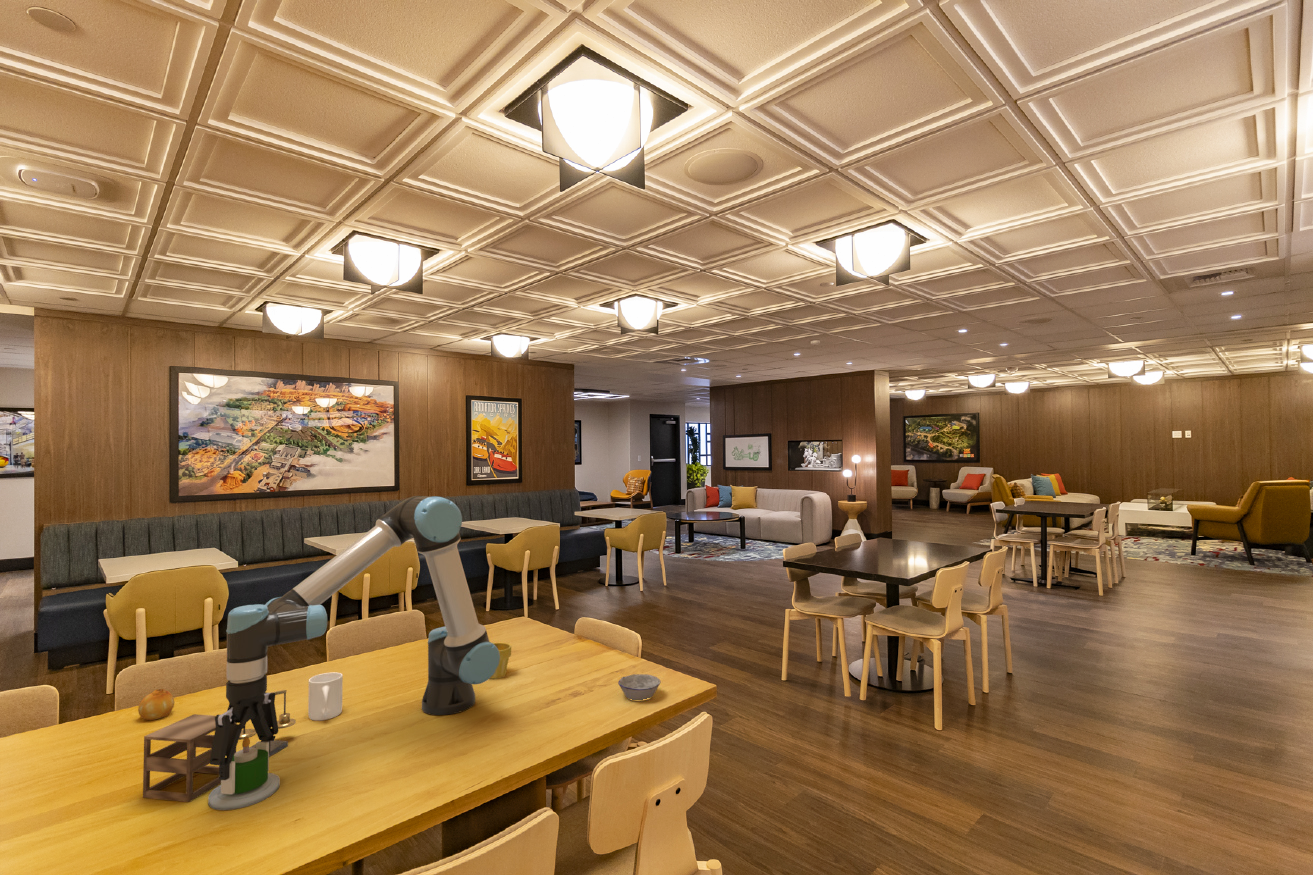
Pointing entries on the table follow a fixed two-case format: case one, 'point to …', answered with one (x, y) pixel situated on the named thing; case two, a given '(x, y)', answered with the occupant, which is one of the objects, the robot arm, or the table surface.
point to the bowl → (639, 686)
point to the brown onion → (156, 705)
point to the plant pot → (502, 659)
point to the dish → (243, 795)
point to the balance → (282, 723)
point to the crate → (186, 738)
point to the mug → (325, 696)
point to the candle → (250, 767)
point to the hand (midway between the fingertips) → (245, 781)
